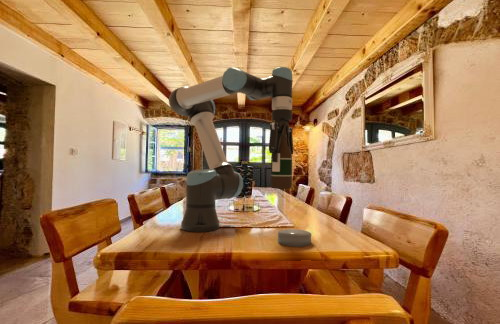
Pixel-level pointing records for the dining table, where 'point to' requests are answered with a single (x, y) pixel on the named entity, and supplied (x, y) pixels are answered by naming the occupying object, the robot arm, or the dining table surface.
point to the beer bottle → (283, 166)
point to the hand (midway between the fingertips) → (281, 171)
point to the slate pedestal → (294, 237)
